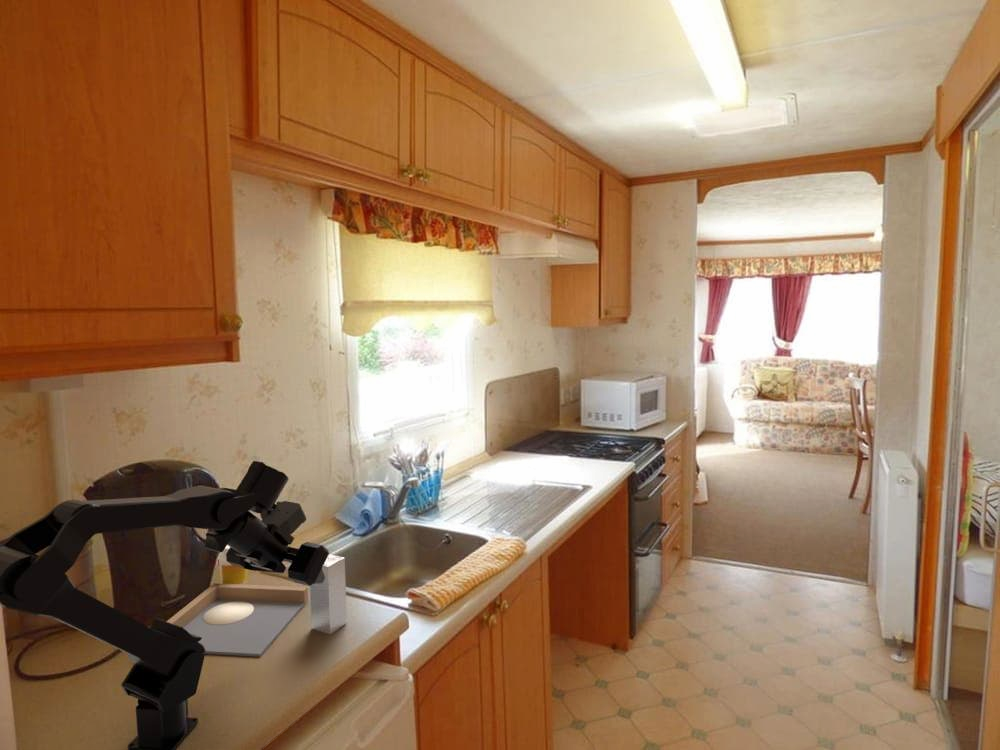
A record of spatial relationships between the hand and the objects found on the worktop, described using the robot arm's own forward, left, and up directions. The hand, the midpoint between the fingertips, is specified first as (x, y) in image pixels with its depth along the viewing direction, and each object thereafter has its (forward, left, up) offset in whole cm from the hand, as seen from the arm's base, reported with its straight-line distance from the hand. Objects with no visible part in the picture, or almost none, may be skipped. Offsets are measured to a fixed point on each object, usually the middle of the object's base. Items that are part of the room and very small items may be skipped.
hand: (303, 575), depth 108 cm
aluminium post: (+6, -2, -12) cm, 14 cm away
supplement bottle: (+19, +24, -13) cm, 33 cm away
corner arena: (+5, +16, -12) cm, 21 cm away
